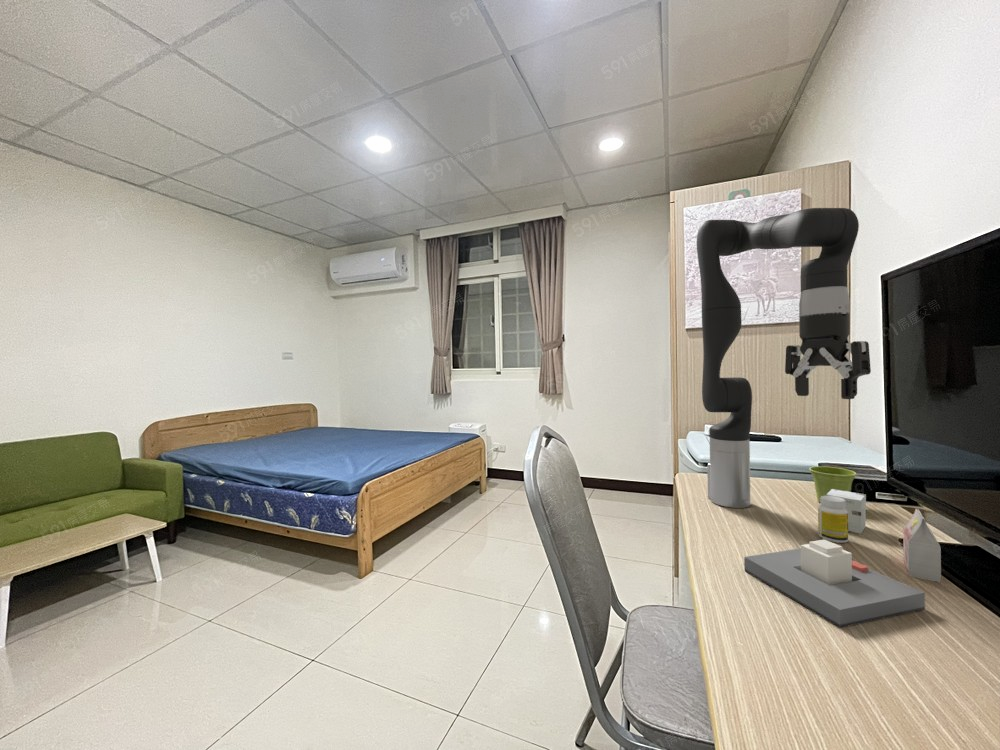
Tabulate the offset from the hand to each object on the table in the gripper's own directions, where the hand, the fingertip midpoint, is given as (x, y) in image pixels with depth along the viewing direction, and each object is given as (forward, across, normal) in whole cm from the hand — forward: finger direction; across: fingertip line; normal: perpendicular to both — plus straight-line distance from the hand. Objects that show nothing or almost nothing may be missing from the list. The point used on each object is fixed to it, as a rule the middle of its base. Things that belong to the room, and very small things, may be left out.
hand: (824, 397), depth 77 cm
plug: (+30, +10, -13) cm, 34 cm away
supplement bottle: (+30, -4, +7) cm, 31 cm away
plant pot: (+30, -20, +28) cm, 46 cm away
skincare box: (+30, -8, +16) cm, 35 cm away
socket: (+30, +10, -13) cm, 34 cm away
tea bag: (+30, +10, +8) cm, 33 cm away
